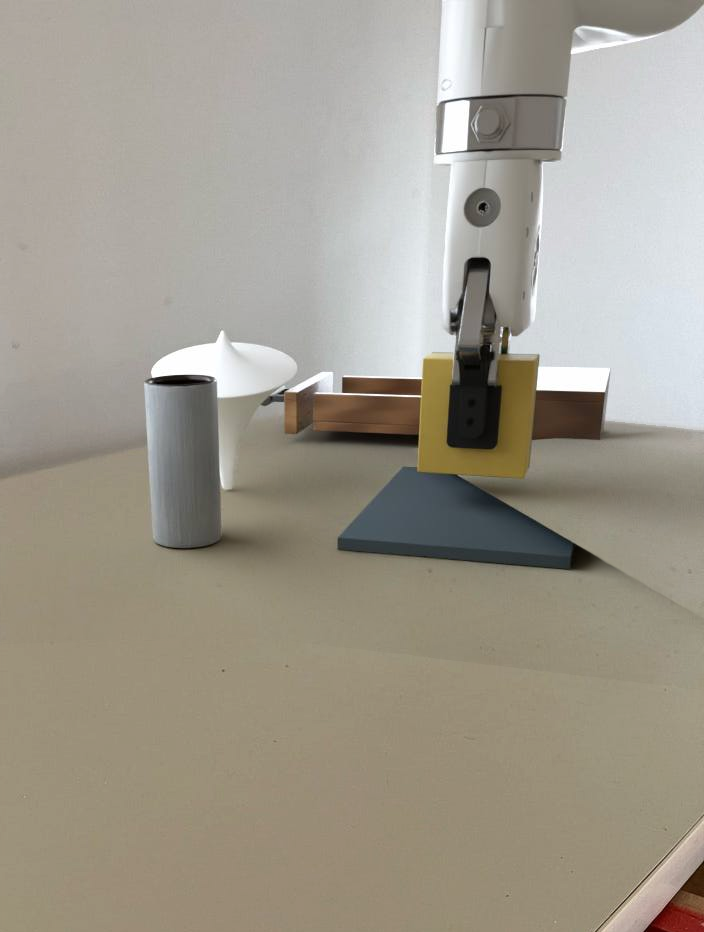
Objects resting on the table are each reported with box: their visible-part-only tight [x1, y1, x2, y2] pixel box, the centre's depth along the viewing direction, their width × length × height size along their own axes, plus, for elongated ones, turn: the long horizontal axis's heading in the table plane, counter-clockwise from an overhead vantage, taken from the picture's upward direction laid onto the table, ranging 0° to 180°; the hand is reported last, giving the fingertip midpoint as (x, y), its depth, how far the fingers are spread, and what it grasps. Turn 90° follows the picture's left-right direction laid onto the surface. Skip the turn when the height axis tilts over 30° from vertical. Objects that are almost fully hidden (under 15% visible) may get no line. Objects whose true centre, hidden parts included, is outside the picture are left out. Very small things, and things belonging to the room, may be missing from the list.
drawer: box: [260, 371, 422, 436], centre depth 97 cm, size 17×12×4 cm
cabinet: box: [532, 366, 612, 441], centre depth 92 cm, size 15×14×6 cm
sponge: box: [417, 351, 541, 480], centre depth 68 cm, size 7×4×8 cm, turn 69°
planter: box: [143, 374, 222, 549], centre depth 66 cm, size 4×4×10 cm
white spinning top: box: [151, 329, 298, 491], centre depth 77 cm, size 10×11×12 cm
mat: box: [336, 465, 576, 570], centre depth 71 cm, size 20×14×1 cm
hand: (476, 438), depth 69 cm, fingers closed on sponge, 3 cm apart
